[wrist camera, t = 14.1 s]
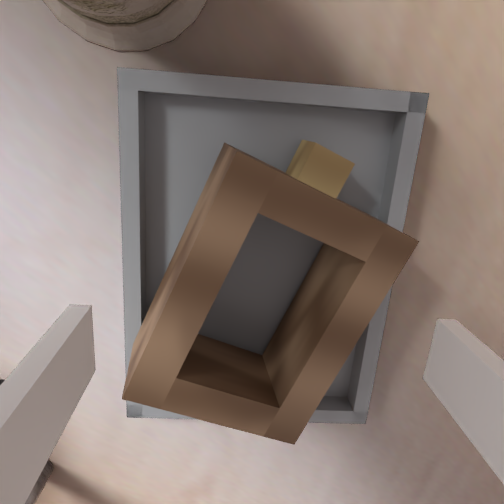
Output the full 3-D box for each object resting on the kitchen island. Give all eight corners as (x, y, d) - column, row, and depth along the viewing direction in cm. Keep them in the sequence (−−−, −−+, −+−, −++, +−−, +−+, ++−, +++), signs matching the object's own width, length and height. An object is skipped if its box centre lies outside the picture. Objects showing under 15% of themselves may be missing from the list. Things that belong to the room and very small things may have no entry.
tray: (128, 72, 21) (117, 67, 19) (411, 96, 22) (429, 93, 20) (134, 396, 28) (126, 417, 26) (356, 403, 29) (365, 423, 27)
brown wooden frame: (274, 387, 27) (294, 444, 22) (133, 343, 24) (121, 399, 19) (389, 186, 23) (441, 204, 19) (240, 106, 20) (258, 104, 16)
